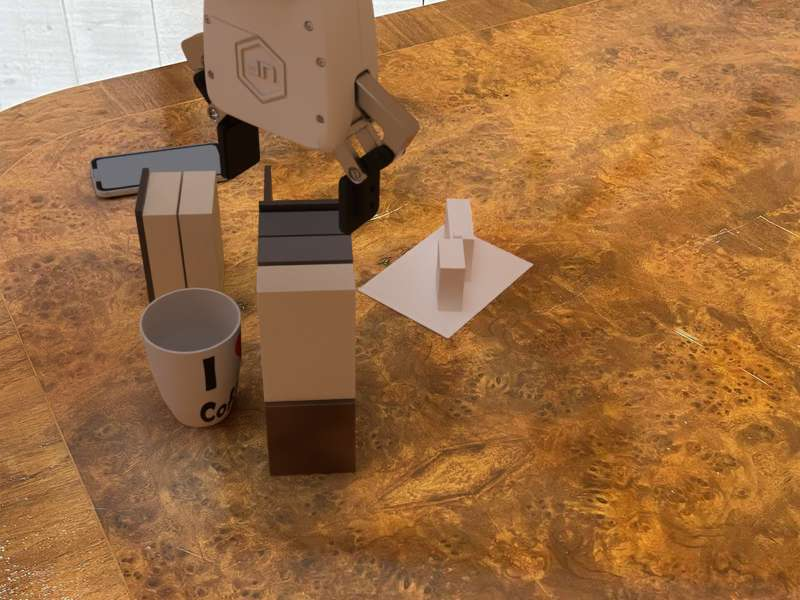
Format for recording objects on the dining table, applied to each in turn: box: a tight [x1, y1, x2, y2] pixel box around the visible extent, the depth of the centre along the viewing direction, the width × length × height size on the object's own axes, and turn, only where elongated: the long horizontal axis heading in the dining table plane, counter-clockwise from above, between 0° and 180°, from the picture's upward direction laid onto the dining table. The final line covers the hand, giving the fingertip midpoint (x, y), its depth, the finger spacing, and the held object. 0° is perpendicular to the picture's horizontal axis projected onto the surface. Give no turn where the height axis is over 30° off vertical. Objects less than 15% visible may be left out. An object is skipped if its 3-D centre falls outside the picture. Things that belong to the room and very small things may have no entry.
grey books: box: [256, 198, 354, 267], centre depth 84 cm, size 7×7×12 cm
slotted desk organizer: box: [134, 164, 274, 305], centre depth 102 cm, size 12×7×12 cm, turn 95°
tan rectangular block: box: [255, 263, 357, 403], centre depth 80 cm, size 7×3×11 cm, turn 95°
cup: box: [138, 288, 243, 428], centre depth 89 cm, size 8×8×10 cm
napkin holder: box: [357, 198, 535, 339], centre depth 105 cm, size 15×11×6 cm
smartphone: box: [89, 141, 229, 198], centre depth 120 cm, size 7×1×15 cm
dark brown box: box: [264, 398, 357, 476], centre depth 89 cm, size 7×12×8 cm, turn 5°
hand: (298, 195), depth 68 cm, fingers open, 9 cm apart
